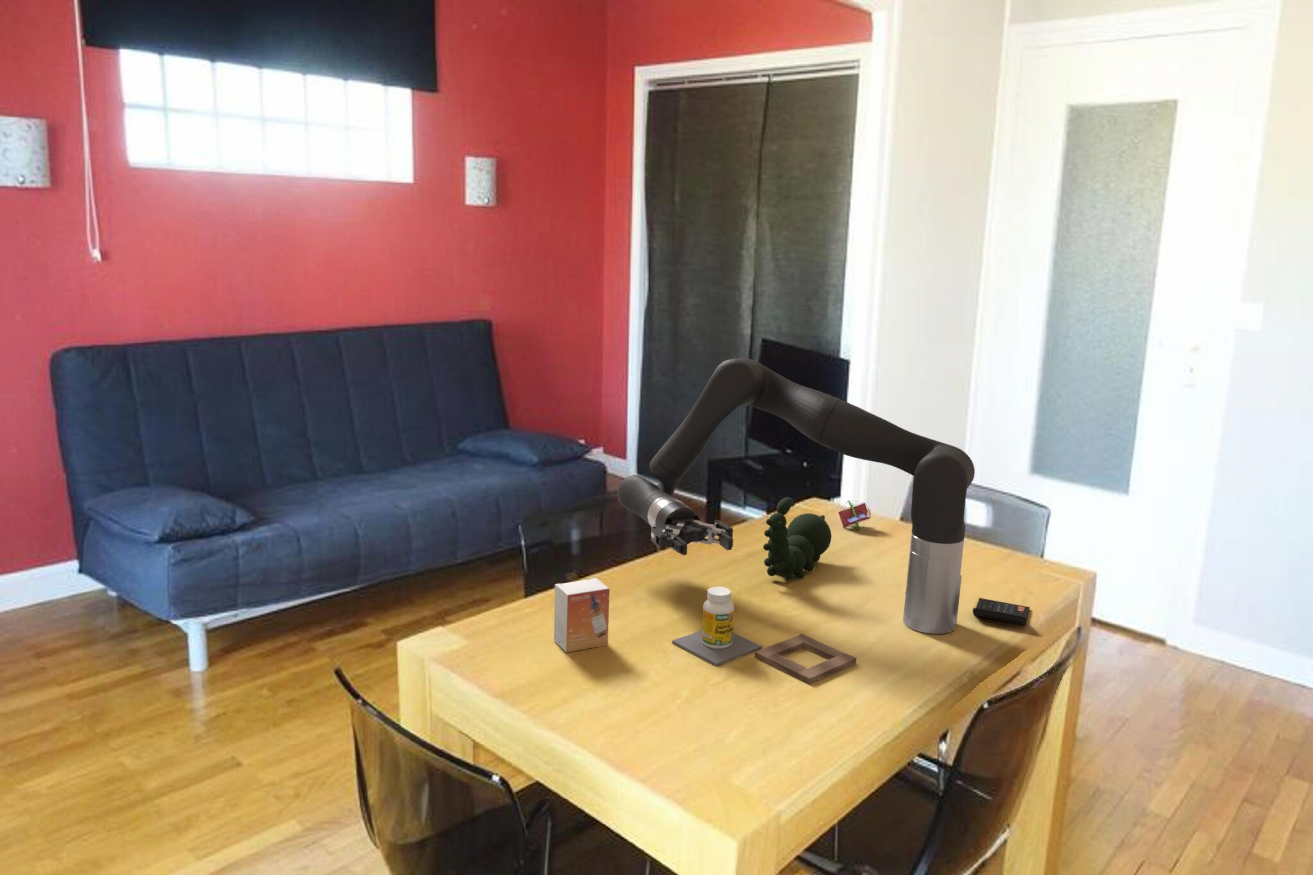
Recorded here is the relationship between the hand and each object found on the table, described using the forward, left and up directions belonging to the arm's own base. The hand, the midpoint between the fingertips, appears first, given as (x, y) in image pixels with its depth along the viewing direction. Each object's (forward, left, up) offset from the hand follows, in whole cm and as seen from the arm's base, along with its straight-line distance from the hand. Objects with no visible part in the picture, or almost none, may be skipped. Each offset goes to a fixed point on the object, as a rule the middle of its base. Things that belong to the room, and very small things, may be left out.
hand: (708, 547), depth 173 cm
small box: (+20, -9, -16) cm, 28 cm away
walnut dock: (-6, +18, -16) cm, 25 cm away
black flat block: (-51, +29, -17) cm, 61 cm away
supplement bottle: (+2, +5, -16) cm, 17 cm away
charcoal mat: (+2, +5, -16) cm, 17 cm away
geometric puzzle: (-70, -21, -16) cm, 75 cm away
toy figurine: (-37, -11, -16) cm, 42 cm away
